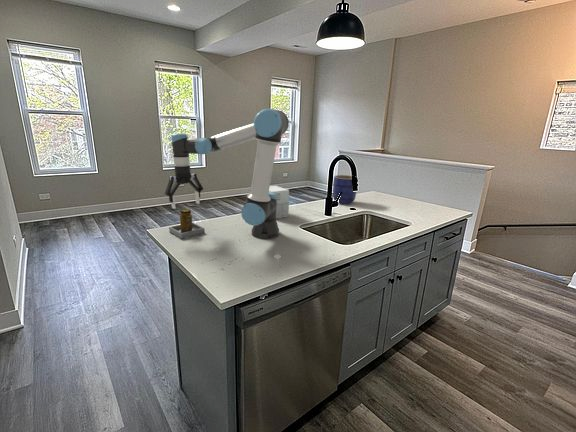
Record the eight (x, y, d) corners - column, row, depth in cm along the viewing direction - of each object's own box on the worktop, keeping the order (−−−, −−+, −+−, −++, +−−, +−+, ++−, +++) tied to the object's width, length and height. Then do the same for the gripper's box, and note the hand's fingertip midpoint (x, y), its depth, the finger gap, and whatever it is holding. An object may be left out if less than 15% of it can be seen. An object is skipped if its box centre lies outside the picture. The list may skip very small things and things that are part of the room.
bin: (204, 233, 162) (204, 228, 161) (181, 239, 152) (181, 233, 152) (192, 227, 170) (191, 222, 170) (169, 232, 161) (168, 227, 160)
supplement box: (289, 216, 195) (290, 189, 190) (271, 219, 188) (272, 191, 183) (275, 210, 209) (275, 185, 204) (258, 212, 202) (258, 186, 196)
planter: (331, 204, 229) (333, 178, 222) (332, 199, 246) (334, 174, 240) (356, 206, 226) (358, 179, 220) (354, 200, 243) (357, 175, 237)
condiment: (192, 228, 166) (190, 208, 163) (195, 233, 159) (194, 212, 156) (178, 230, 163) (176, 209, 159) (181, 235, 156) (179, 213, 152)
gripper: (200, 162, 162) (203, 200, 168) (154, 166, 145) (159, 209, 151) (207, 163, 157) (210, 202, 163) (161, 168, 140) (166, 211, 146)
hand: (186, 205), depth 157 cm, fingers open, 13 cm apart
